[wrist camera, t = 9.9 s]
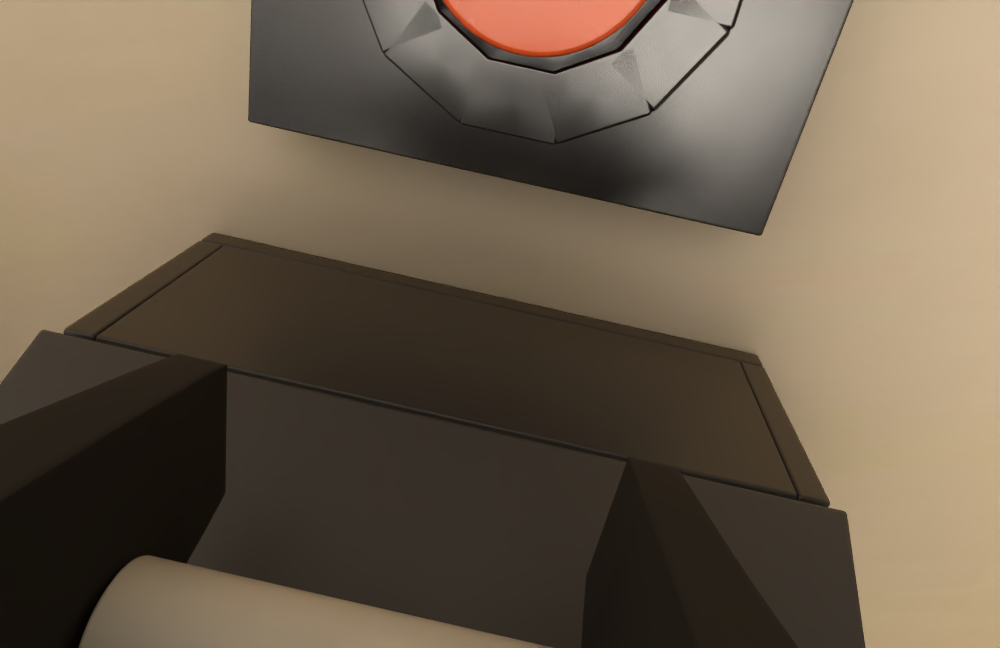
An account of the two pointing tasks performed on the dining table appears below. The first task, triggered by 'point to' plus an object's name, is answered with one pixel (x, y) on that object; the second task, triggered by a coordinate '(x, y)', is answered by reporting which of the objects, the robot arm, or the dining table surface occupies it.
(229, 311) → the dark grey box
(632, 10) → the button
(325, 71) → the button pad
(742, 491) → the box lid
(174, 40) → the dining table surface
